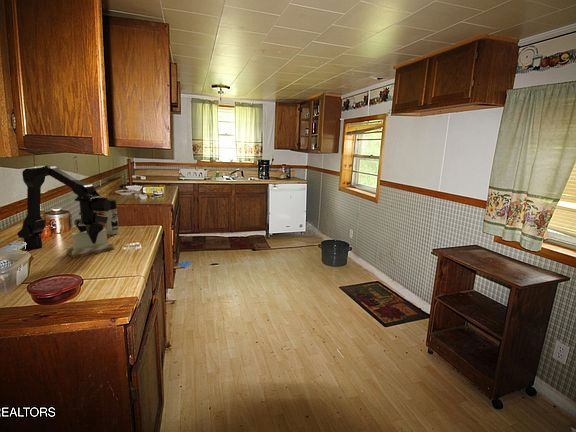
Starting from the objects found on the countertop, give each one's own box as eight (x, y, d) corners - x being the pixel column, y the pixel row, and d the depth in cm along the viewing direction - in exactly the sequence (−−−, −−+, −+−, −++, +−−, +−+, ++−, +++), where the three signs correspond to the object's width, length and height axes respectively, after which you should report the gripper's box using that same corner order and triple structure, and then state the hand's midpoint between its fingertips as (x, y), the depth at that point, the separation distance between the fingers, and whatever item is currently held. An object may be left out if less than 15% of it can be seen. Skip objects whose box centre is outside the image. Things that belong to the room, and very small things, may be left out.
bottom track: (73, 258, 145) (73, 251, 144) (66, 253, 150) (65, 247, 150) (114, 249, 159) (113, 243, 158) (106, 245, 164) (106, 239, 164)
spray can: (113, 235, 182) (110, 201, 178) (103, 234, 183) (100, 200, 179) (121, 232, 188) (119, 199, 184) (111, 231, 190) (109, 198, 185)
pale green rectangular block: (76, 253, 148) (74, 235, 146) (73, 251, 150) (71, 233, 148) (107, 247, 159) (106, 229, 157) (104, 245, 161) (103, 228, 159)
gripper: (113, 211, 151) (116, 242, 154) (97, 205, 162) (99, 234, 165) (88, 214, 142) (91, 247, 146) (72, 208, 153) (75, 238, 157)
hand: (90, 241), depth 154 cm, fingers open, 9 cm apart
